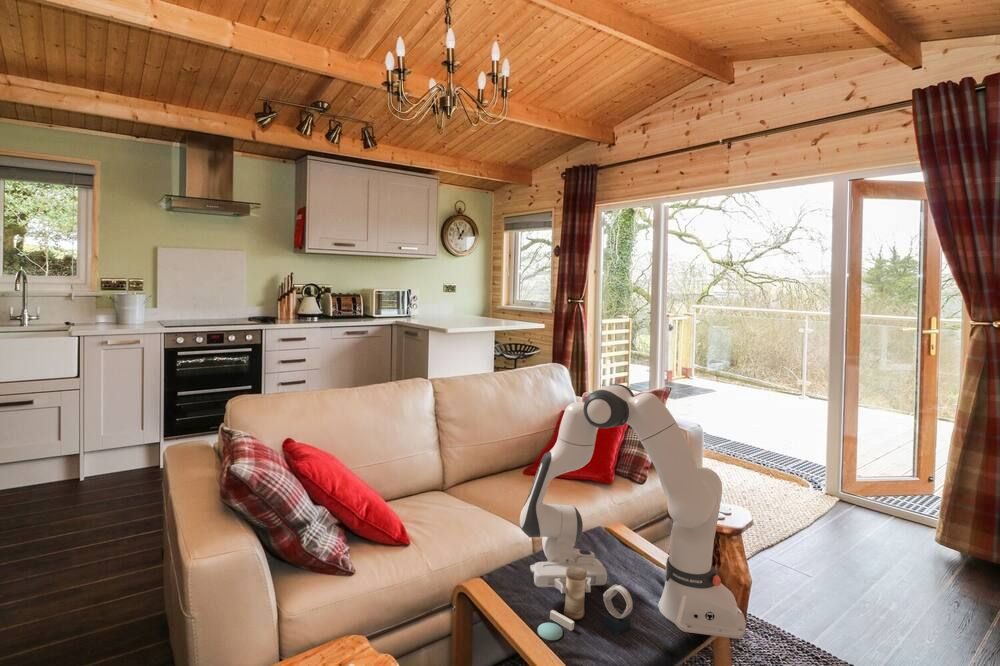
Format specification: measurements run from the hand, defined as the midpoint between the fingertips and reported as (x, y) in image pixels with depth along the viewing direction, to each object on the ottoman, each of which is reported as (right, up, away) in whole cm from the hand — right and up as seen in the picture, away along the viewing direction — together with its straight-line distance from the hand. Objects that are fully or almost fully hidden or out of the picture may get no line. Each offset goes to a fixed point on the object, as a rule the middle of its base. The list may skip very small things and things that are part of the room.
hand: (576, 590), depth 151 cm
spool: (0, -7, +2) cm, 7 cm away
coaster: (-7, -8, -5) cm, 12 cm away
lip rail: (-4, -8, -2) cm, 9 cm away
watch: (+10, -9, -2) cm, 14 cm away
